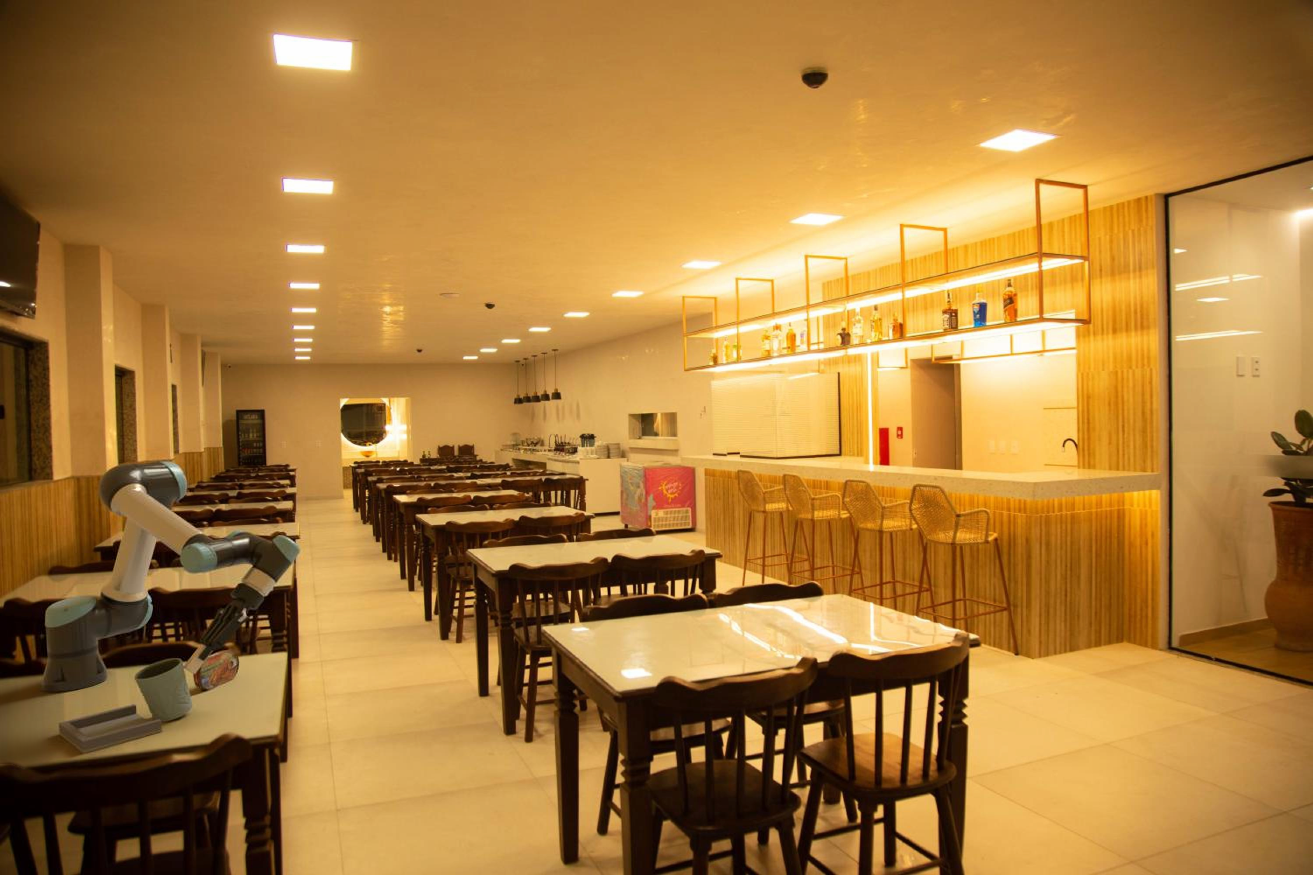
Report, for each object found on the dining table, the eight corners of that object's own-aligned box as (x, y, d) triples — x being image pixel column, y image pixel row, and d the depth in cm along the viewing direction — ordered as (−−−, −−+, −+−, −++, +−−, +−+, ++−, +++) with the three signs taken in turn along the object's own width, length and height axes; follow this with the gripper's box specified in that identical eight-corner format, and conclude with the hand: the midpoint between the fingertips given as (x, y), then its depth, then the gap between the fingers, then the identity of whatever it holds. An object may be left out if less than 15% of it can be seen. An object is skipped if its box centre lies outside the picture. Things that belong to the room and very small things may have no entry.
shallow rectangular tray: (59, 734, 197) (58, 722, 197) (134, 714, 209) (133, 704, 209) (83, 753, 184) (82, 741, 184) (162, 731, 196) (161, 720, 196)
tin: (202, 693, 223) (200, 661, 223) (191, 693, 224) (189, 661, 224) (240, 675, 238) (239, 646, 238) (231, 675, 239) (229, 646, 239)
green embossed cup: (204, 703, 208) (190, 659, 206) (166, 726, 199) (151, 680, 197) (178, 700, 213) (164, 656, 210) (139, 722, 204) (125, 677, 202)
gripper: (275, 600, 218) (212, 682, 206) (252, 596, 227) (190, 674, 214) (253, 583, 214) (187, 666, 202) (230, 579, 223) (165, 659, 210)
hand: (188, 670), depth 208 cm, fingers closed
